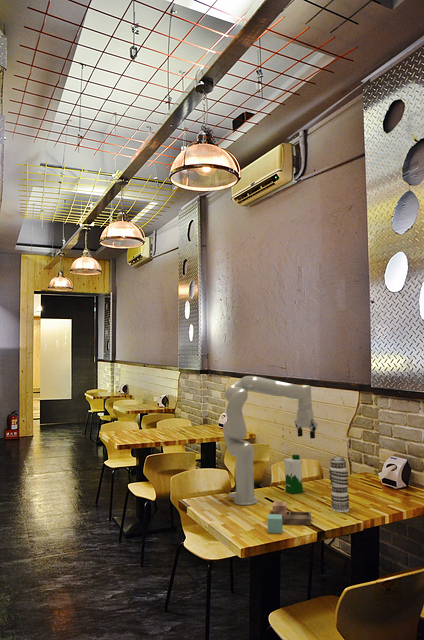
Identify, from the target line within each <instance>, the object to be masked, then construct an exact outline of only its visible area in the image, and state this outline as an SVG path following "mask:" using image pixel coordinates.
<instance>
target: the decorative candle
mask: <svg viewBox="0 0 424 640" xmlns="http://www.w3.org/2000/svg"><path fill="white" fill-rule="evenodd" d="M329 462H330V463H329V464H330V467H329V471H328V473H329V481H330V486H331V494H330V497H331V498H330V499H331V510H332V511H334V512H336V513H347V512H349V511H350V498H349V497H350V496H349V491H348V486H349V479H348V477H349V472H348V471H347V470H348V469H347V460H346V459H345V458H344V456H333V457H331V459H330V460H329Z"/></svg>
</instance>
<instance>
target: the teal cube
mask: <svg viewBox="0 0 424 640" xmlns="http://www.w3.org/2000/svg"><path fill="white" fill-rule="evenodd" d="M283 525H284V524H282V515H280V514H268V515H267V533H269V534H283V530H282V529H283Z"/></svg>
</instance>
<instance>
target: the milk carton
mask: <svg viewBox="0 0 424 640" xmlns="http://www.w3.org/2000/svg"><path fill="white" fill-rule="evenodd" d="M291 456H292V457H288V458H283V464H284V475H285V476H284V477H285V479H284V480H285V492H286V493H289V494H291V495H297V494H301V493H304V490H303V489H304V488H303V486H304V485H303V475H302V473H303V471H302V465H303V459H301V458H300V454H292V455H291Z"/></svg>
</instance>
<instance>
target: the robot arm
mask: <svg viewBox="0 0 424 640" xmlns="http://www.w3.org/2000/svg"><path fill="white" fill-rule="evenodd" d="M248 392H254V393H259V394H263V395H269V396H272V397H273V396H274V397H275V396H276V397H286V398H288V399H291V400H292V399H293V400H297V401H298V402H297V403H298V404H297V406H298V408H297V410H296V419H295V420H294V424H295V427H296V429H297V437H303V428H305V429H307V428H309V430H310V432H309V438H310V440H311V439H316V431H317V429H318V428H317V427H318V425H319V424H318V422H316V421H315V416H314V411H313V406H312V403H313V402H312V387H311V385H309V384H308V385H307V384H301V385H299V384H294V383H290V382H289V383H288V382H284V381H280V380H275V379H271V378H265V377H262V376H255V375H245V376H243V377H241V378H240V379H238V380H237V381H236V382H234V383H233V384H231V385H230V386H229V387H227V388H226V390H225V392H224V398H225V400H226V401H227V402H228V403H227V406H226V408H225V409H226V410H225V413H226V414H225V415H226V419H227V420H226V421H225V422H224V424H223V427H222V433H223V437H224V442H225V445H226V448H227V451H228V453H229V454H230V455H231V456H232V457H234V458H236V461H235V464H234V465H235V469H234V470H235V471H234V472H235V492H234V493H228V494H227V497H228V498H229V499H233V503H234V504H236V505H240V506H250V505H255V504H257V503H258V498H257V497H255V485H254V483H255V482H254V481H255V480H254V479H255V478H254V459H255V448H254V446H253V444H252V443H250V442H249V441H247V440H244V439H245V438H246V436H247V435H248V434H247V433H248V432H247V431H248V430H247V426H246V422H245V419H244V414H243V407H244V405H245V403H246V402H247V400H248V397H249V394H248Z"/></svg>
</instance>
